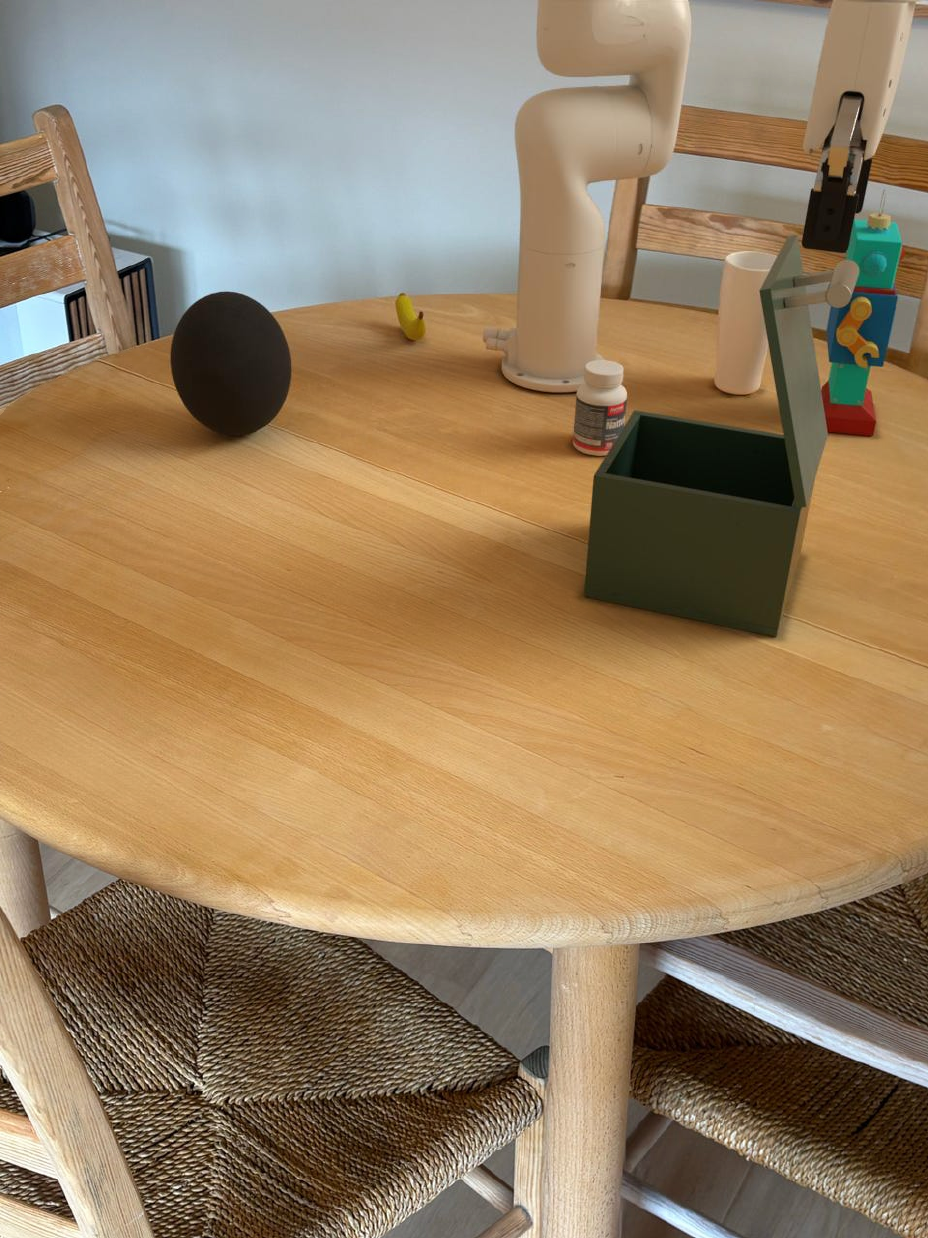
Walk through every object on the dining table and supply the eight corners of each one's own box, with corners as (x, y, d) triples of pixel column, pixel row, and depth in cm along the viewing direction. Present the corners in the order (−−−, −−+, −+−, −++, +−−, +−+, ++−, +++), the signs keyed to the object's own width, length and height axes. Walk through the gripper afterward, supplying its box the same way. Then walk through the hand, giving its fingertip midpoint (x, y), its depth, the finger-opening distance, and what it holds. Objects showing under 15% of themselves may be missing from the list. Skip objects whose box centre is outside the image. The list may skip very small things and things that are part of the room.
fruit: (430, 350, 153) (430, 311, 150) (413, 352, 153) (413, 313, 150) (409, 321, 161) (409, 283, 158) (393, 323, 161) (393, 285, 158)
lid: (759, 290, 89) (840, 276, 86) (787, 236, 99) (860, 222, 97) (796, 508, 96) (871, 501, 94) (818, 436, 107) (886, 428, 104)
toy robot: (874, 443, 133) (925, 207, 119) (816, 437, 134) (860, 202, 120) (867, 399, 143) (914, 176, 129) (813, 394, 144) (853, 172, 130)
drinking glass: (701, 393, 144) (717, 265, 135) (714, 371, 149) (731, 247, 140) (759, 403, 142) (780, 273, 133) (770, 381, 147) (791, 255, 138)
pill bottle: (608, 461, 129) (615, 381, 124) (563, 449, 131) (569, 369, 126) (630, 442, 133) (638, 364, 128) (587, 430, 135) (593, 353, 130)
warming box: (583, 596, 108) (593, 475, 101) (623, 524, 118) (634, 409, 112) (776, 637, 103) (800, 512, 96) (799, 557, 114) (822, 440, 107)
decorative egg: (228, 467, 127) (214, 326, 118) (156, 430, 134) (137, 294, 125) (319, 429, 134) (311, 294, 126) (246, 396, 141) (234, 266, 133)
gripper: (838, -52, 89) (797, 191, 99) (806, -18, 76) (762, 258, 86) (948, -44, 87) (894, 202, 97) (934, -8, 74) (873, 274, 84)
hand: (832, 228), depth 91 cm, fingers open, 9 cm apart
